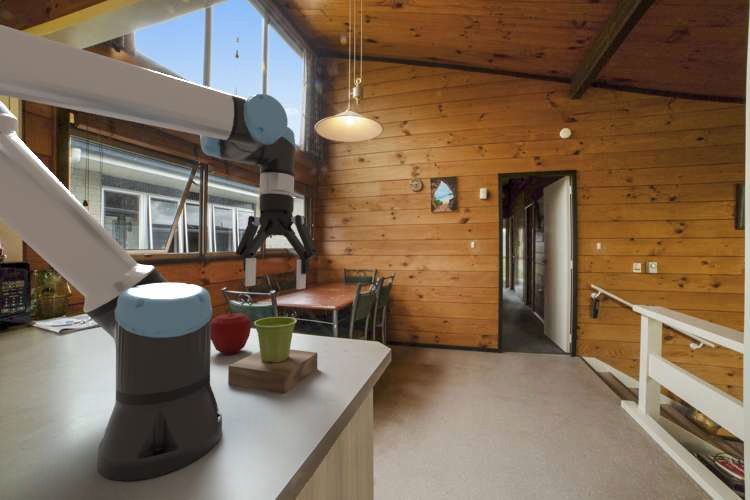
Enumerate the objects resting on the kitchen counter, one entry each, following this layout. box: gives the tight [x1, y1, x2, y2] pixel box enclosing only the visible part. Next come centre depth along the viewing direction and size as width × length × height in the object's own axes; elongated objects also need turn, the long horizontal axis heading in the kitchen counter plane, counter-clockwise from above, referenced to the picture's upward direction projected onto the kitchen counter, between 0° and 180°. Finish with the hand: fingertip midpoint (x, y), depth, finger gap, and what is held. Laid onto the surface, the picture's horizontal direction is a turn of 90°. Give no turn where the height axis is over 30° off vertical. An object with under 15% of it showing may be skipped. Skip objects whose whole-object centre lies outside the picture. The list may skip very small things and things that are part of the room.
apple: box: [211, 311, 252, 355], centre depth 89 cm, size 11×11×12 cm
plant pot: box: [253, 316, 298, 363], centre depth 72 cm, size 9×9×9 cm
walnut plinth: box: [227, 348, 318, 394], centre depth 72 cm, size 14×14×4 cm
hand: (274, 287), depth 72 cm, fingers open, 13 cm apart
